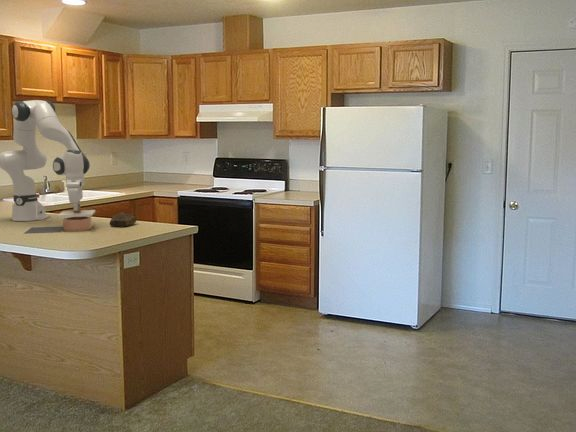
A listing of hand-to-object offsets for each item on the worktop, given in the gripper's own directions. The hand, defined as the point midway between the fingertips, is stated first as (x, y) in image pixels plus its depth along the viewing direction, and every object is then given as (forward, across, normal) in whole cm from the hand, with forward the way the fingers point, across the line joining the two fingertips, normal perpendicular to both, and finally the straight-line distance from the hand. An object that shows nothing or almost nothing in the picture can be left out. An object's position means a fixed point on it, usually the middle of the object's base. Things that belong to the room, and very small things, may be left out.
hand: (76, 209), depth 325 cm
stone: (+11, -11, +22) cm, 26 cm away
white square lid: (+2, 0, 0) cm, 2 cm away
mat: (+10, 0, -16) cm, 19 cm away
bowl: (+10, 0, 0) cm, 10 cm away
